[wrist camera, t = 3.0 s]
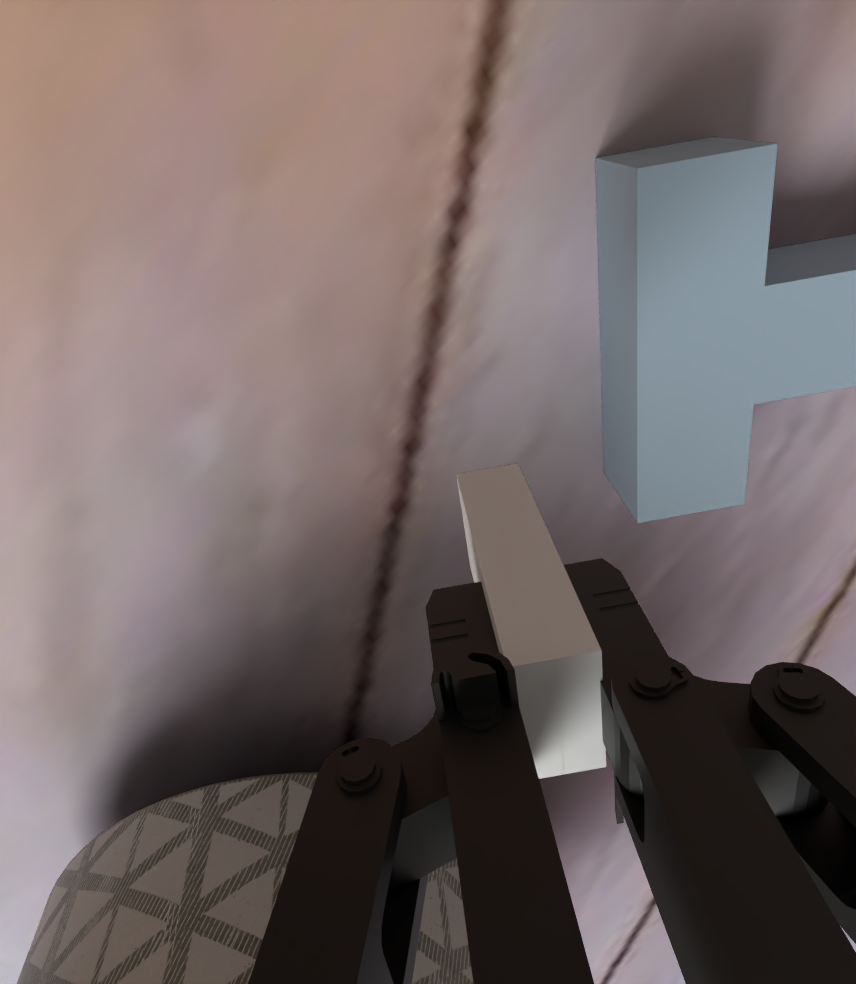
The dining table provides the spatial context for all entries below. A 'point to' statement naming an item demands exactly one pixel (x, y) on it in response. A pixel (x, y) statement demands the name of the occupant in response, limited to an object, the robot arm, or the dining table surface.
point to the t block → (706, 319)
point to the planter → (204, 893)
